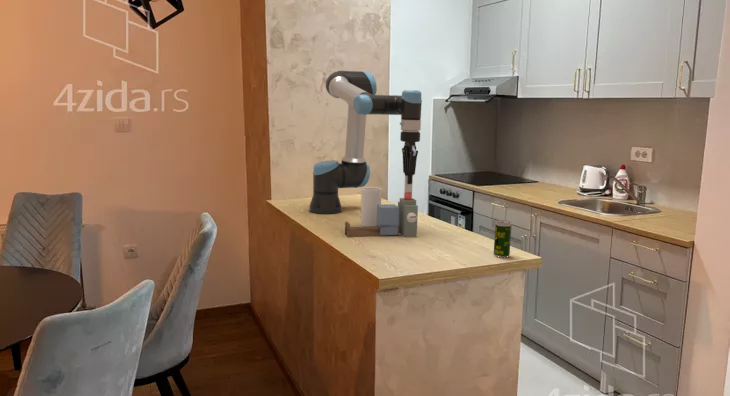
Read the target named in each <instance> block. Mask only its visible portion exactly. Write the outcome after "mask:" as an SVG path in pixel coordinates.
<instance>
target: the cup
mask: <svg viewBox="0 0 730 396" xmlns="http://www.w3.org/2000/svg"><path fill="white" fill-rule="evenodd" d="M360 197H361V198H360V200H361V201H360V226H377V205H382V188H381V187H377V186H363V187H361V196H360Z"/></svg>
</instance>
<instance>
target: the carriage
mask: <svg viewBox="0 0 730 396" xmlns="http://www.w3.org/2000/svg"><path fill="white" fill-rule="evenodd" d="M398 218H399V207H398V205H396V204H395V203H394V204H393V203H391V204H381V205H377V226H379V227H380V235H387V236H399V235H398Z"/></svg>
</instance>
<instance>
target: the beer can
mask: <svg viewBox="0 0 730 396" xmlns="http://www.w3.org/2000/svg"><path fill="white" fill-rule="evenodd" d="M494 225H495V226H494V240H493V242H494V243H493V255H495V256H499V257H507V256H509V257H510V253H511V241H512V240H511V239H512V236H511V235H512V222H511V221H510V220H504V219H503V220H501V219H500V220H496V221H495V224H494ZM495 256H494V257H495ZM499 257H498V258H499ZM507 258H508V257H507Z"/></svg>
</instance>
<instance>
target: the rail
mask: <svg viewBox="0 0 730 396" xmlns="http://www.w3.org/2000/svg"><path fill="white" fill-rule="evenodd" d="M344 235H345V237H347V238H350V237H351V238H352V237H353V238H355V237H382V236H385V237H387V236H388V235H380V227H379V226H361V225H360V226H351V224H350V222H349V221H344ZM397 236H401V234H400V227H399V226H398V235H397Z"/></svg>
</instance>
